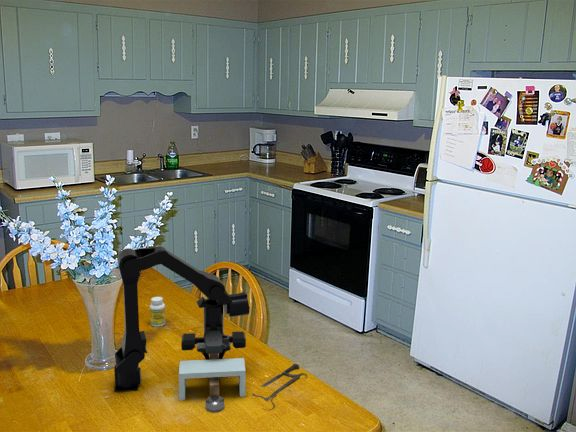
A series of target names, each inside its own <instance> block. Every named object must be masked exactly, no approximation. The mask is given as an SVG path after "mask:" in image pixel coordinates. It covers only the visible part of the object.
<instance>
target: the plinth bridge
mask: <svg viewBox="0 0 576 432" xmlns="http://www.w3.org/2000/svg"><path fill="white" fill-rule="evenodd" d="M245 363H246V362H245V358H244V357H237V358H234V357H233V358H223V359H212V360H205V359H195V360H193V359H192V360H191V359H190V360H180V361H179V367H178V394H179V395H178V396H179V398H178V399H179V401H185V400H186V392H187V379H202V378H204V379H206V378H210V377H219V378H222V377H223V378H224V377H225V378H226V377H238V388H239V389H238V390H239V398H243V397H246V364H245Z"/></svg>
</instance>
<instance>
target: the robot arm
mask: <svg viewBox="0 0 576 432" xmlns="http://www.w3.org/2000/svg"><path fill="white" fill-rule="evenodd" d="M116 259H117V264H118V268H119V273H120V277H121V281H122V286H123V287H122V289H123V290H122V293H123V310H124V311H123V313H124V331H123V335H122V339H121V340H122V342H121V346H120V348H119V349H118V350H117V351H115V352H114V360H115V361H114V362H115V365H114V370H113V371H114V388H113V391H114V392H132V391H134V392H135V391H139V386H140V385H141V384H142V383H141V382H142V369H141V368H142V367H140V363H141V362H142V361H143V360H145V357H146V356H145V355H146V354H147V353H148V349H147V337H146V333H145V330H142V331H140V317H139V315H140V314H139V294H138V293H139V292H138V291H139V290H138V285H139V280H140V276H141V272H142V271H146V270H148V269H151V268H153V267H155V266H158V265H162V266H163V267H165V268H167V269H168V270H170V271H171V272H173V273H174V274H176V275H177V276H179V277H181V278H183V279H184V280H187V281H188V282H190V283H191V284H193V285H194V286H195V287H196V288H197V289H198V290H199V291H200V292H201V293H202V294H203V295H204V296H201V297H200V298H199V299H198V300H197V301H196V305H197V307H198V308H199V309H203V336H202V337H201V336H199V337H196V333H193V332H192V333H183V334H182V336H181V341H180V342H181V343H180V347H181V351H193V350H194V349H196V352H199V353H202V355H203V357H204V360H210V354H211V353H218V359H224V356H225V354H226V353H227V352H228V351H229V352H230V350H231V349H232V347H233V348H234V349H245V348H246V347H247V340H246V333H245V331H243V330H241V331H239V330H238V331H232V332H231V335H230V334H225V333H224V314H225V315H228V317H229V318H235V317H242V316H248V315H250V310H251V309H250V304H249V300H248V294H247V293H246V292H245V291H244V292H239V293H231V294H229V293H228V291H227V290H226V286H225V284H224V283H223V282H222V280H221V279H220V278H219V277H218V276H217V275H214V274H212V273H209V272H207V271H203V270H201V269H198V268H196V267H194V266H193V265H191V264H190V263H188V262H187V261H185V260H183V258H180V257H179V256H177V255H175V254H174V253H172V252H171V251H169V250H168V249H167V248H166V247H164V246H160V245H159V246H155V247H139V248H135V249H133V248H128V247H127V248H124V249H122V250H121V251H119V252H118V254H117V257H116ZM205 297H206V298H205ZM231 344H232V347H231Z"/></svg>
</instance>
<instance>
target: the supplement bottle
mask: <svg viewBox="0 0 576 432" xmlns="http://www.w3.org/2000/svg"><path fill="white" fill-rule="evenodd" d="M149 319H150V320H149V322H150V326H152V327H158V328H159V327H162V326H164V325H166V323H167V320H166V319H167V318H166V304H165V303H164V299H163V297H162V296H154V297H152V298H151V299H150V305H149Z"/></svg>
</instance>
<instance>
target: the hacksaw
mask: <svg viewBox="0 0 576 432" xmlns="http://www.w3.org/2000/svg"><path fill="white" fill-rule="evenodd" d="M299 368H300V365H299V364H297V363H293V364H292V365H291V366H290V367H288V368H287V369H285V370H283V371H282V372H281V373H279V374H278V375H275V376H274V377H273V378H271V379H269V380H268V381H266V382H265V383H263V384H262V385H260V386H259V387H262V388H265V387H267V386H269V385H270V384H272V383H273V382H275V381H277V380H278V379H280V378H281V377H283V376H285V377H289V378H291V379H290V380H288V381H287V382H286V383H284V384H283V385H281V386H280V387H279V388H277V389H276V390H275V391H274V392H272V393H271V394H269V396H268V397H265V396H263V395H256V394H255V393H253V394H252V393H250V394H251V396H253V397H257V398H262V399H263V400H264V401H265V402H269V401H270V403H271V404H272V406H273V407H272V408H270V409H269V411H271V410H274V409H275V408H276V405H275V403H274V402H273V400H274V399H275V398H276V397H277V396H278V395H277V394H279V393H280V392H281V391H283V390H284V389H286V388H287V387H288V386H290V385H291V384H294V382H296V381H297V380H298V379H300V377H301V375H306V376H305V377H301V379H306V378H307V377H308V374H307V373H305V372H301V373H298V374H292V373H291V372H293V371H295V370H298V369H299ZM262 410H265V411H266V409H265V408H263V407H262Z"/></svg>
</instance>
